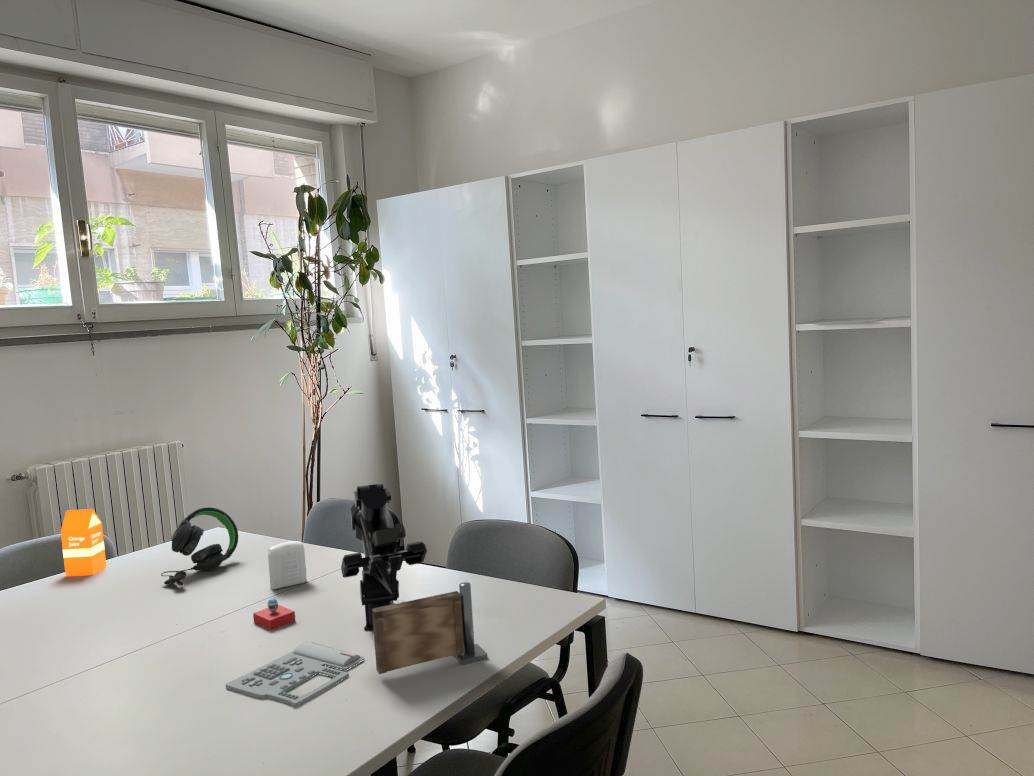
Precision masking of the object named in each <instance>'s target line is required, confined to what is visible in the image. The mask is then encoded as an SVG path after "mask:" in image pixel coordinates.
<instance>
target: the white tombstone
mask: <svg viewBox="0 0 1034 776" xmlns="http://www.w3.org/2000/svg"><path fill="white" fill-rule="evenodd" d="M267 552H268V553H267V560H268V561H267V562H268V573H269V585H270V589H271V590H278V589H281V588H286V587H291V586H294V585H295V586H296V585H299V584H300V585H301V584H303V583H306V582H307V578H308V577H307V568H306V567H307V565H306V554H305V553H306V552H305V547H304V543H303V542H302V541H297V540H296V541H295V540H294V541H293V540H291V541H289V540H288V541H284V542H280V543H277V544H274V545H272V546H271V547H270V548H268V551H267Z"/></svg>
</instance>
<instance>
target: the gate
mask: <svg viewBox="0 0 1034 776" xmlns="http://www.w3.org/2000/svg"><path fill="white" fill-rule="evenodd" d="M372 617H373V630H372V631H373V639H374V640H373V641H374V655H375V666H376V667H375V668H376V672H377V673H378V675H382V674H386V673H388V672H392V671H395V670H399V669H403V668H407V667H411V666H416V665H419V664H424V663H428V662H431V661H435V660H439V659H444V658H448V657H452V656H453V655H456V654H457V655H459V654H463V653H464V639H463V624H462V609H461V594H460V591H458V590H455V591H451V592H446V593H439V594H435V595H431V596H428V597H423V598H417V599H411V600H408V601H404V602H398V603H393V605H388V606H383V607H379V608H374V609H372Z"/></svg>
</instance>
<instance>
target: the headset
mask: <svg viewBox="0 0 1034 776" xmlns="http://www.w3.org/2000/svg"><path fill="white" fill-rule="evenodd" d="M199 516H211V517H213V518H215V519H217V521H219V523H221V524H222V525H223V526H224V527H225V528H226V530H227V533H228V537H229V541H228V542H229V544H228V546H227V547H228V548H227V550H226V552H225V553H224V554H223V553H222V552H223V550H224V549H223V548H222V546H221V544H220V543H213V544H210V545H208V546H206V547H204V548H201V549H200V550H197V551H195V550H196V548H197V546H198V545H199V543H200V540H201V538H202V536H203V535H204V528H201V527H199V526H197V525H195V524H194V525H192V524H191V522H190V521H191V520H192V519H194V518H197V517H199ZM238 543H239V531H238V528H237V525H236V523H235V521H234V520H233V519H232V517H231V516H230V515H228V514H227V512H225V511H223V510H222V509H220V508H217V507H211V506H209V507H202V508H201V507H200V508H198V509H196V510H194V511H192V512H191V513H190V514H188V515H187V516H186V517H184V519H183V520H181V522H180V524H179V525H178V527H177V529H175V531H174V532H173V534H172V536H171V551H172V552H174V553H179V554H181V555H182V556H187V557H188V556H190V555H191V556H190V560H191V562H192V563H193V564H195V565H193V566H192V567H190V568H188V569H187V568H186V569H184V570H167V571H163V572H162V573H161V574H160V575H161V577H169V578H168V579H166V580H165V581H164V582H163V584H164V585H165V586H169V587H172V586H174V585H175V583H176V584H177V585H179V586H182V587H183V586H184V582H183V580H185V579H186V577H187V575H188V574H187V573H188V572H187V571H193V570H194V571H196V572H197V571H201V572H202V571H203V572H204V571H205V572H209V571H212V570H214V569H217V568H218V567H219V566H221V564H222V563H223V562H225V561H227V560H228V559H229V558H231V556H233V554H234V552H235V551H236V549H237V547H238ZM194 551H195V552H194ZM192 553H193V554H192ZM166 573H167V574H168V573H175V574H174V575H173V574H172V575H163V574H166Z"/></svg>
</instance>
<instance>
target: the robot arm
mask: <svg viewBox="0 0 1034 776" xmlns="http://www.w3.org/2000/svg"><path fill="white" fill-rule="evenodd" d="M353 494H354V495H353V496H354V497H353V498H354V503H353V505H352V506H351V507H350V523H351V525H350V526H351V531H354V534H355V538H356V539H358V540H359V541H362V547H363V553H364V557H363V556H362V553H361V552H354V553H349V554H344V556H343V557H342V559H341V560H342V561H341V566H340V570H341V576H342V578H345V579H346V578H350V577H351V578H352V577H356V576H358V574H359V573H360V568H362V571H361V574H362V575H361V576H362V577H361V578H362V579H360V580H359V595H360V603H361V606H362V607H363V606H364V611H365V612H364V613H365V626H364V628H363V629H364V631H368V630H369V631H370V630H371V631H374V630H373V617H372V609H374V608H379V607H383V606H388V605H393V604H394V601H398V599H399V598H400V583H399V582H400V581H399V580H398V579H397V574H398V573H397V572H398V571H400V570H401V569H402V566H403V562H405V563H406V565H409V566H413V565H419V564H422V563H423V562H425V561H424V560H425V558H426V555H427V553H428V549H427V546H426V544H425V543H424V542H423V541H415V542H410V543H407V544H406V547H405V550H399V551H398V550H397V551H396V549H398V543H399V542H400V541H399V540H403V539H404V538H405V537H407V536H406V534H407V533H406V529H405V526H404V523H396V524H395V525H393V527H390V526H389V522H388V520H387V514H388V504H390V501H392V495H391V493H390V491H388V489H387V487H384V484H383V483H378V484H377V483H376V484H375V483H374V484H367V485H366V484H365V485H359V486H358V485H357V486H356V490H355V491H353Z"/></svg>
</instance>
